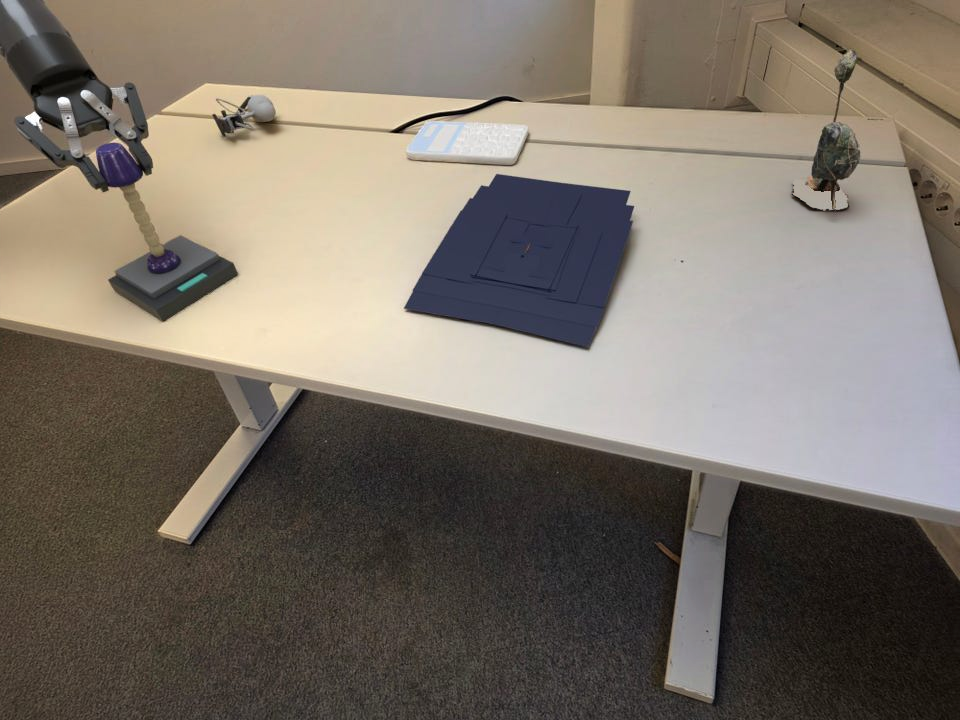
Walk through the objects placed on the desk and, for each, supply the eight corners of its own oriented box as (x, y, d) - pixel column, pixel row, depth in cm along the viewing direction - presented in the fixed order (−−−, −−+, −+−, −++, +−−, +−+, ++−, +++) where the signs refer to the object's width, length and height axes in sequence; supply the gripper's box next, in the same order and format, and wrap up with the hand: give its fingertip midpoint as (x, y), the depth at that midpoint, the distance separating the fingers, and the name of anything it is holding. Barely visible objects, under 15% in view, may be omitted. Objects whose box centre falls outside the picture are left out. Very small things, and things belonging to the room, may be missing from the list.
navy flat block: (642, 208, 88) (644, 187, 85) (590, 363, 71) (591, 342, 68) (486, 187, 95) (484, 167, 93) (405, 322, 78) (399, 303, 76)
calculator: (515, 166, 103) (515, 156, 101) (404, 160, 107) (402, 150, 106) (530, 132, 112) (529, 122, 110) (427, 128, 116) (425, 118, 115)
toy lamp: (177, 250, 85) (120, 134, 73) (191, 263, 82) (133, 145, 70) (143, 265, 82) (79, 148, 71) (156, 279, 80) (91, 160, 68)
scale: (162, 321, 78) (152, 303, 76) (114, 291, 84) (103, 273, 82) (238, 274, 85) (231, 256, 83) (189, 249, 90) (181, 232, 88)
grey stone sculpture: (786, 216, 87) (834, 69, 73) (790, 178, 94) (835, 39, 80) (849, 224, 84) (911, 74, 70) (848, 186, 91) (905, 43, 77)
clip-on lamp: (218, 131, 129) (227, 143, 114) (203, 100, 125) (210, 109, 111) (271, 112, 131) (285, 121, 117) (257, 81, 128) (271, 87, 114)
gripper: (106, 54, 77) (184, 172, 79) (-18, 89, 70) (70, 216, 72) (99, 15, 70) (184, 144, 72) (-39, 49, 64) (59, 190, 65)
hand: (127, 180), depth 72 cm, fingers closed on toy lamp, 4 cm apart
